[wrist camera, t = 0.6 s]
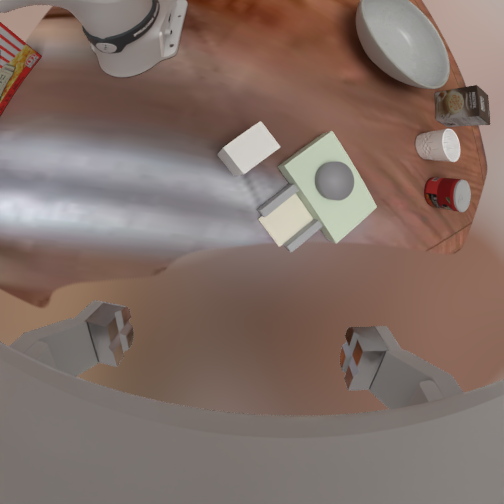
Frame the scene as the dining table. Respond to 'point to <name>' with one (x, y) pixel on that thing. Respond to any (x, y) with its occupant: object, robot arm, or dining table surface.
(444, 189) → the canned food
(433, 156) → the white cup
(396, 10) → the decorative bowl
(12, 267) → the dining table surface
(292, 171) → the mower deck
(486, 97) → the coffee box
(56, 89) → the dining table surface
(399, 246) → the dining table surface
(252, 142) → the white rectangular block
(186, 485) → the robot arm
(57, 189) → the dining table surface
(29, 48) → the popcorn box
